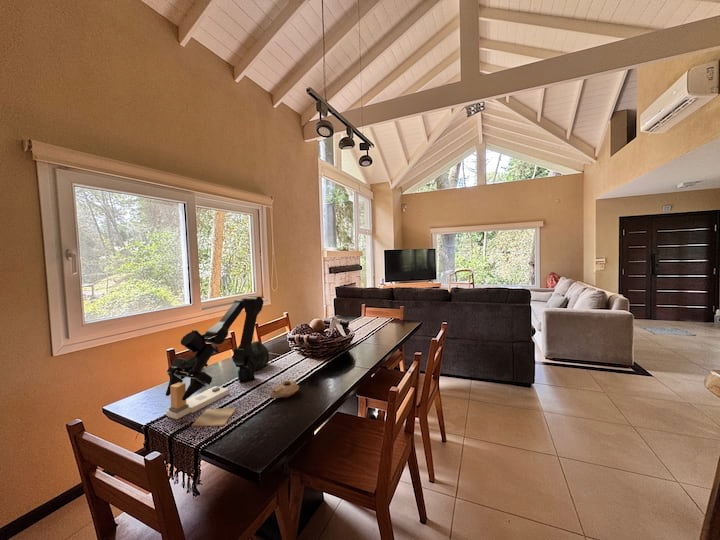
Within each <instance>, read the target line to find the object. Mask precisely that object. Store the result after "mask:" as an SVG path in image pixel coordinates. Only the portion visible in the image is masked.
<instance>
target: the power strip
mask: <svg viewBox="0 0 720 540" xmlns="http://www.w3.org/2000/svg"><path fill="white" fill-rule="evenodd" d="M229 394H230V389H229V388H226V387H220V386H218V385H217V386H216V385H215V386H212V387H211V388H209V389H206V390H204V391H202V392H200V393H197V394H195V395H193V396H190V397H188V398H187V399H186V404H188V406H189V407H187V408H186V409H184V410H182V411H180V412H178V413H176V412H172V411H171V410H169V409H167V410H166V411H165V412H166V417H167V416H168V418H170V419H171V418H172V419H174V420H179V419H180V418H182V417H184V416H186V415H188V414H193V413H196V412H197V411H200V410H201V409H203V408H205V407H207V406H208V405H210V404H213V403H214V402H216V401H218V400H221V398H223V397H226V396H228V395H229Z"/></svg>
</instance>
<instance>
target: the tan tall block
mask: <svg viewBox="0 0 720 540" xmlns="http://www.w3.org/2000/svg"><path fill="white" fill-rule="evenodd" d="M186 388H187V387H186V383H185V382H182V383H181V382H178V383H176V384H173V385H171V386H170V392H171V394H170V406H169V407H168V410H171V411H172V412H176V413H178V412H180V411H182V410H184V409H186V408H187V407H189V406H188V404H186V400H187V399H186V400H182V398H183V396H184V394H185V392H186V390H187V389H186Z"/></svg>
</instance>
